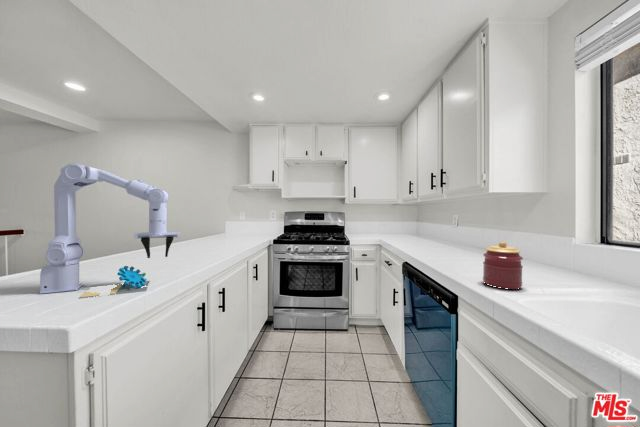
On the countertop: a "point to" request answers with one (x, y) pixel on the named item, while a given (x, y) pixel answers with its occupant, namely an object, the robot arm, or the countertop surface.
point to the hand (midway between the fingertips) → (157, 257)
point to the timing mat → (118, 290)
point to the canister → (503, 267)
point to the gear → (131, 277)
